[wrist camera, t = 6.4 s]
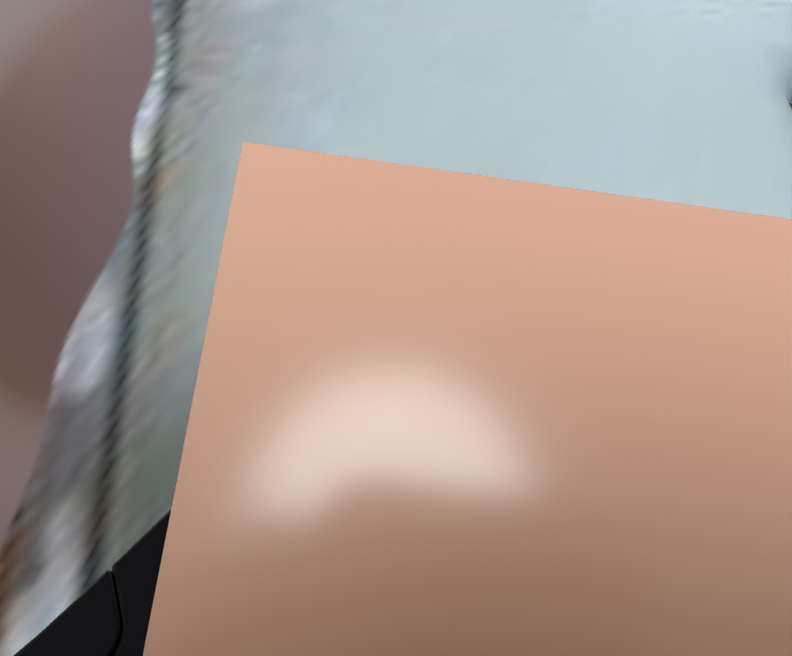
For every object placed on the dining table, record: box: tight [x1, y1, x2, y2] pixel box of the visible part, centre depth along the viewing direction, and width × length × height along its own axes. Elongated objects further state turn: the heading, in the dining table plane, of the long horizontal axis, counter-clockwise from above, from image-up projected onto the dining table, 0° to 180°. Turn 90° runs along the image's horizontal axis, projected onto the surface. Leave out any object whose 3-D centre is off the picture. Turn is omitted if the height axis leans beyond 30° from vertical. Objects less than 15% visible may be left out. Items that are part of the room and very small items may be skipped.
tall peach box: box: [143, 142, 792, 656], centre depth 8 cm, size 6×6×12 cm
